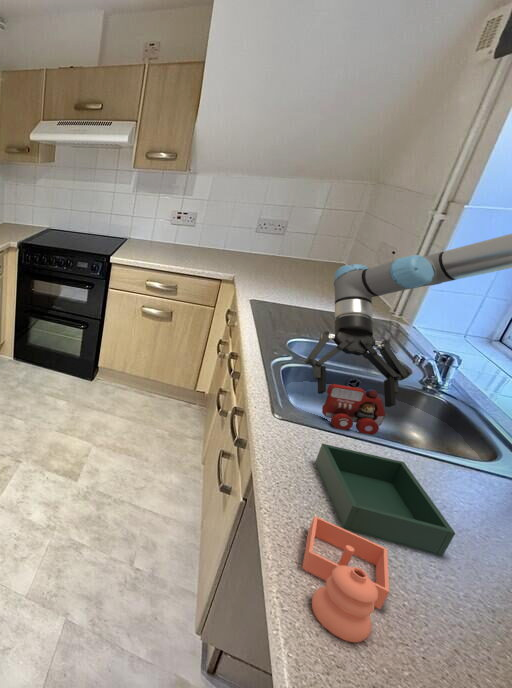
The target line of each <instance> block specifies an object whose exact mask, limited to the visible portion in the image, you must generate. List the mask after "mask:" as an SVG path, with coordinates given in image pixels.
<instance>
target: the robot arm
mask: <svg viewBox="0 0 512 688" xmlns="http://www.w3.org/2000/svg"><path fill="white" fill-rule="evenodd" d="M510 269H512V233H509V234H508V233H507V234H504V235H501V236H497V237H494V238H490V239H486V240H482V241H478V242H474V243H470V244H468V245H463V246H460V247H456V248H452V249H447V250H445V251H439V252H436V253H432V254H429V255H424V256H422V255H420V254H413V255H409V256H404V257H399V258H397V259H395V260H392V261H389V262H388V261H387V262H386V263H382V264H378V265H376V266H372V267H368V266H367V265H364V264H361V263H353V264H346V265H342V266H340V267H338V268H337V270H335V273H334V281H333V287H334V288H333V289H334V319H335V320H334V334H333V333H330V331H328V330H324V331H323V332H322V333H320V335H319V340H318V342H317V344H316V345H315V346H314V347H313V349H312V350H311V352H310V353H309V354H308V356H306V357H307V358H305V360H304V363H305V364H306V365H309V366H311V368H312V370H313V379H314V380H316V381H317V394H318V395H319V394H320V395H323V394H324V393H327V366H326V365H324V364H325V363H326V362H328V361H329V360H331V359H332V358H333V357H335V356H336V355H337V354H338V353H340V352H342V353H344V354H347V355H354V356H359V357H360V356H362V357H363V358H364V359H366V360H367V361H369V362H370V363H371V364H372V366H374V367H375V368H376V369H377V370H378V371H379V372H380V373H381V374H382V375H383V376H384V377H385V379H384V380H383V393H384V408H385V407H386V408H391V407H393V406H395V405H396V394H398V393H399V392H400V385H399V381H401V382H402V381H403V380H405V379H407V378H409V373H408V372H407V370H406V369H405V367H404V366H403V365H402V363H401V362H400V360H399V358H398V357H397V356H396V354H395V353H394V351H393V349H392V348H391V343H390V340H388V339H384V340H375V339H374V327H373V325H374V323H373V306H372V305H373V304H372V303H373V302H372V300H373V298H375V297H380V296H383V295H388V294H392V293H393V294H394V293H398V292H401V291H406V290H412V289H416V288H417V289H418V288H421V287H422V288H423V287H429V286H430V287H431V286H434V285H435V286H436V285H440V284H443V283H447V282H452V281H453V282H454V281H456V280H461V279H465V278H471V277H475V276H479V275H484V274H491V273H494V272H499V271H500V272H501V271H505V270H510ZM331 340H332V342H334V343H335V345H336V346H335V347H334V348H333V349H331V350H330V351H329V352H328V353H326V354H325V355H323V356H322V357H321V358H320V359H318V360H317V357H318V355H319V354H320V352H321V351H322V350H323V349H324V347H325V346H326V344H327V343H329V342H330V341H331ZM374 347H375V348H376V349H375V348H374ZM378 351H379V353H380V355H381V356H380V355H379V354H378Z"/></svg>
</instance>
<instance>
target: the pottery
mask: <svg viewBox="0 0 512 688" xmlns="http://www.w3.org/2000/svg"><path fill="white" fill-rule="evenodd" d="M315 538H317V539H320V540H322V541H324V542H325V543H328V544H330V545H332V546H334V547H337V548H338V549H341V550H342V551H343V552H342V554H341V556H340V559H339V561H338V563H336V562H334V561H332V560H330V559H328V558H326V557H324V556H322V555H320V554H318V553H316V552H314V545H315ZM353 556H355V557H357V558H359V559H361V560H363V561H365V562H368V563H369V564H372V565H373V566H375V581H373V580H372V579H371V578H369V576H368V574H367V572H366V571H365V570H363V569H362V568H360V567H357V566H349V563H350V561H351V559H352V557H353ZM301 569H302V570H304V571H306V572H308V573H310V574H312V575H314V576H316V577H317V578H319V579H321V580H323V581H325V586H322V587H319V588H318V589H316V590H315V591H314V592H313V595H312V598H311V609H312V612H313V614H314V616H315V618H316V619H317V621H318V622H319V623H320V625H322V626H323V627H324V628H325V629H326V630H327V631H328V632H329V633H331V634H332V635H334V636H335V637H337V638H339V639H340V640H341V639H342V640H344V641H346V642H350V643H360V642H363V641H364V640H366V639H367V638H368V637H370V635H371V632H372V619H371V616H370V615H371V614H372V613H373V612H374V610H375V609H376V608H377V609H379V610H381V609H382V607H383V605H384V603H385V601H386V599H387V597H388V596H389V594H390V581H389V580H390V579H389V577H390V576H389V555H388V548H387V547H385V546H383V545H381V544H378V543H376V542H375V541H371V540H370V539H368V538H365V537H363V536H360V535H358V534H356V533H355V532H353V531H350V530H346V529H343V527H342V526H338V525H336V524H334V523H332V522H330V521H327V520H325V519H323V518H321V517H319V516H317V515H314V516H313V518H312V521H311V524H310V525H309V528H308V532H307V537H306V543H305V549H304V555H303V561H302V567H301Z"/></svg>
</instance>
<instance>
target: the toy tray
mask: <svg viewBox="0 0 512 688" xmlns="http://www.w3.org/2000/svg"><path fill="white" fill-rule="evenodd" d="M314 466H315V467H316V469H317V472H318V474H319V477H320V479H321V481H322V483H323V486H324V488H325V490H326V493H327V495H328V498H329V500H330V502H331V504H332V507H333V509H334V512H335V513H336V516H337V518H338V521H339V524H340V525H341V528H343V529H345V530H347V531H350V532H352V533H357V534H361V535H363V536H364V535H365V536H367V537H371V538H375V539H378V540H382V541H386V542H390V543H392V544H395V545H396V544H397V545H400V546H403V547H407V548H410V549H414V550H417V551H421V552H425V553H428V554H432V555H435V556H439V557H443V556H444V554H445V553H446V551H447V549H448V547H449V545H450V543H451V542H452V540H453V538H454V537H455V535H456V532H455V530H454V529H453V528H452V526H451V525H450V523H449V522H448V520H447V519H446V518H445V517H444V515H443V514H442V512H441V511H440V510H439V508H438V507H437V505H436V504H435V503H434V502H433V500H432V499H431V497H430V495H428V494H427V491H425V489H424V488H423V486H422V485H421V483H420V482H419V481H418V479H417V478H416V476H415V475H414V474H413V472H412V471H411V470H410V468H409V466H407V464H406V463H405V462H404V461H403V460H402V461H401V460H397V459H394V458H393V459H392V458H388V457H383V456H379V455H375V454H370V453H367V452H361V451H357V450H353V449H349V448H344V447H339V446H334V445H330V444H326V443H321V445H320V448H319V451H318V453H317V456H316V458H315V461H314Z"/></svg>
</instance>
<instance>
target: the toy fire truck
mask: <svg viewBox="0 0 512 688" xmlns="http://www.w3.org/2000/svg"><path fill="white" fill-rule="evenodd" d="M326 393H327V397H326V398H325V402H324V404H323V405H322V407H321V409H322V410H321V413H322V415H323V416H324V417H326V418H329V419H330V424H331V426H333V428H334V429H337V430H343V431H348V430H350V429H351V428H352V427H353V425H354V423H355V428H356V430H357V432H358V433H359V434H365V435H370V436H374V435H376V434H377V433H378V432H379V429H380V427H381V426H382V424H383V421H384V419H385V417H386V411H385V406H384V404H383V401H382V399H381V398H380V397H379V396H378V392H377V391H376V390H375V389H371V388H370V389H367V390H366V391H365V390H364V389H363V388H361V387H355V386H348V385H342V384H336V383H331V384H329V385H328V387H327V389H326Z"/></svg>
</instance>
